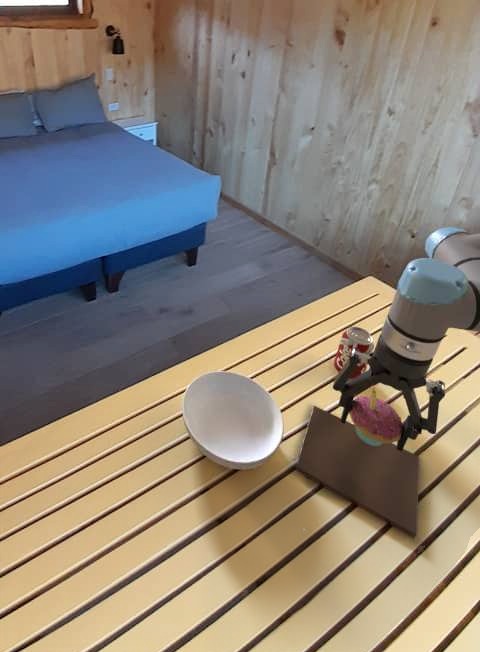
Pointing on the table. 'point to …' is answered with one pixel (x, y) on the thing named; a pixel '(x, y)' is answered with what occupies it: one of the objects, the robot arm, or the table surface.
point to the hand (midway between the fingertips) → (370, 430)
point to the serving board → (361, 470)
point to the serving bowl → (232, 419)
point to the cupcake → (375, 420)
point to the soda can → (350, 340)
